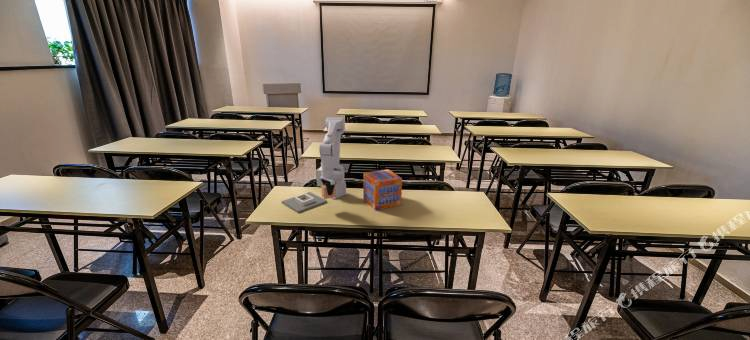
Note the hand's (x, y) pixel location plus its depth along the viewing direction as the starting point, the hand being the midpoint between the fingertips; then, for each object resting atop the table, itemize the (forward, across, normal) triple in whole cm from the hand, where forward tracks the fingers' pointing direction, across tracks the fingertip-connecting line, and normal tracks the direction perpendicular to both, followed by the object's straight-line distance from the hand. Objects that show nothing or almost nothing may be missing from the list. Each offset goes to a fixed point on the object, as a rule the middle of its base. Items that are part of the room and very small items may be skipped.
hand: (328, 193), depth 154 cm
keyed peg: (+2, 0, 0) cm, 2 cm away
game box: (+10, +4, +29) cm, 31 cm away
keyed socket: (+9, -14, -9) cm, 19 cm away
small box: (+10, -34, +9) cm, 36 cm away
